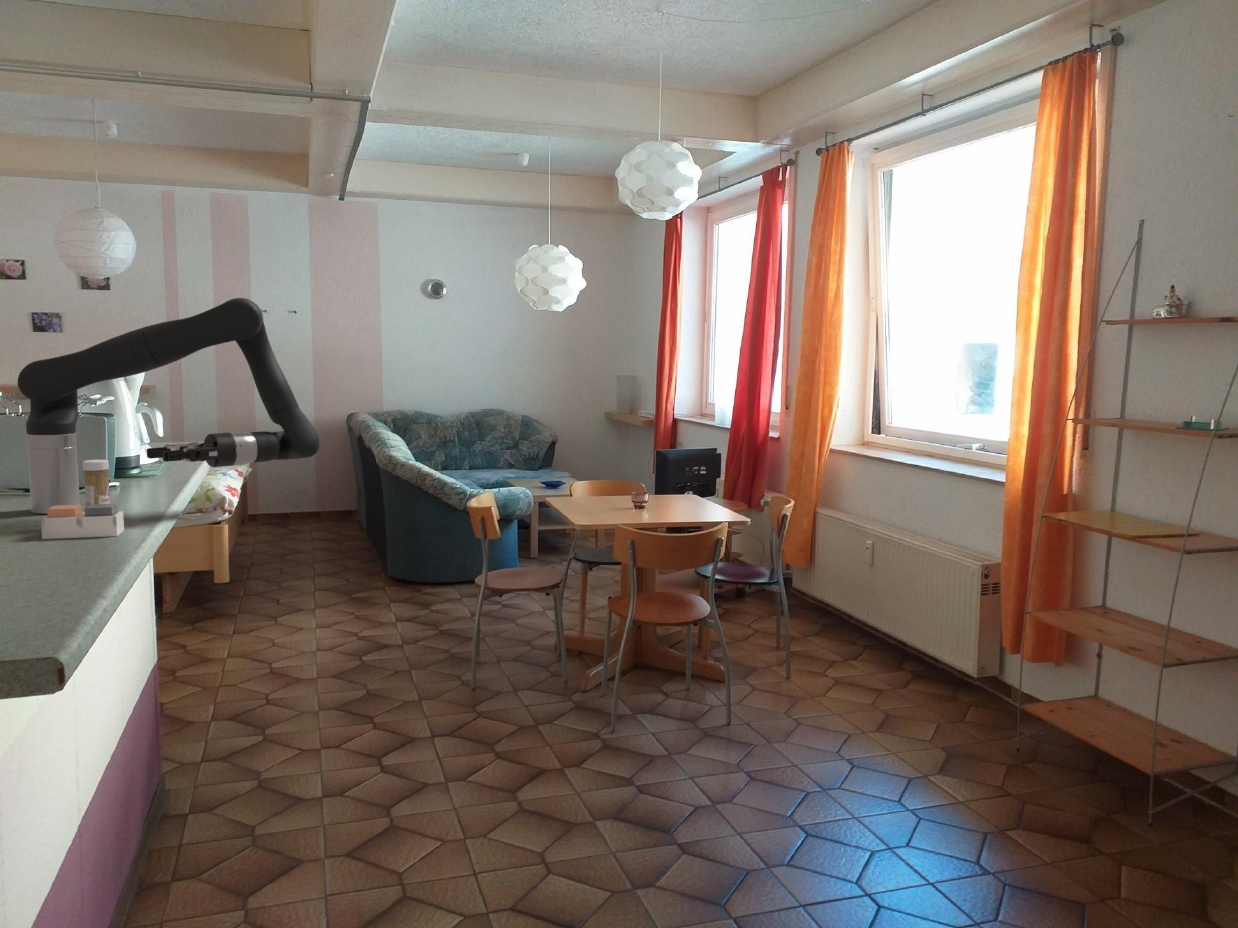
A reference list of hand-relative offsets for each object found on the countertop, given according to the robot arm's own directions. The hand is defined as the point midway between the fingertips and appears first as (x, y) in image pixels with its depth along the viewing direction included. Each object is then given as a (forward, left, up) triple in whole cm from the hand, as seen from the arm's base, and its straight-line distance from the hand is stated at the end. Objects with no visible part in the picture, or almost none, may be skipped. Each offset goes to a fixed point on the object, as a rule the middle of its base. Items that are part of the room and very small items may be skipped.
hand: (155, 455), depth 191 cm
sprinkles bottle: (+6, -10, -14) cm, 18 cm away
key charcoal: (+15, -7, -10) cm, 20 cm away
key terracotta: (+15, -14, -10) cm, 23 cm away
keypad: (+15, -10, -14) cm, 23 cm away
